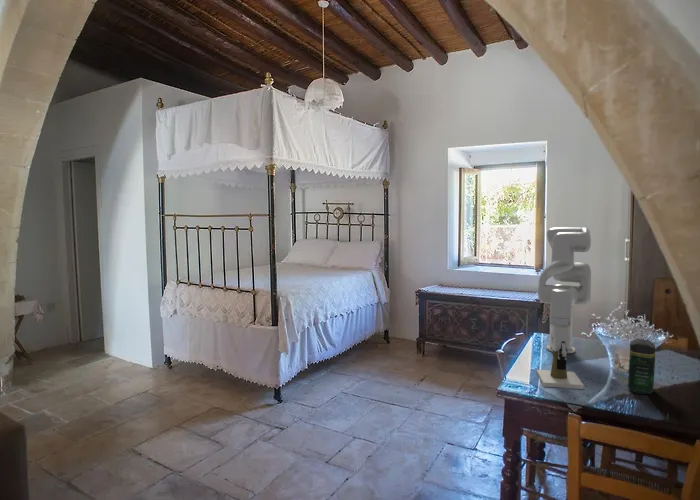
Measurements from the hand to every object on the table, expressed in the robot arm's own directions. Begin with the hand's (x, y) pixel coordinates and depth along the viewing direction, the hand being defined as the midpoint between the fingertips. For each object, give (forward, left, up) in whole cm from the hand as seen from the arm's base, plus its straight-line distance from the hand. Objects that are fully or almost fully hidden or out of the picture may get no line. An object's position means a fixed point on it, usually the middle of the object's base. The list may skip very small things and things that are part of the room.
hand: (559, 366), depth 172 cm
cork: (-1, 0, -4) cm, 4 cm away
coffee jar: (+4, +27, -6) cm, 28 cm away
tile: (0, 0, -6) cm, 6 cm away
